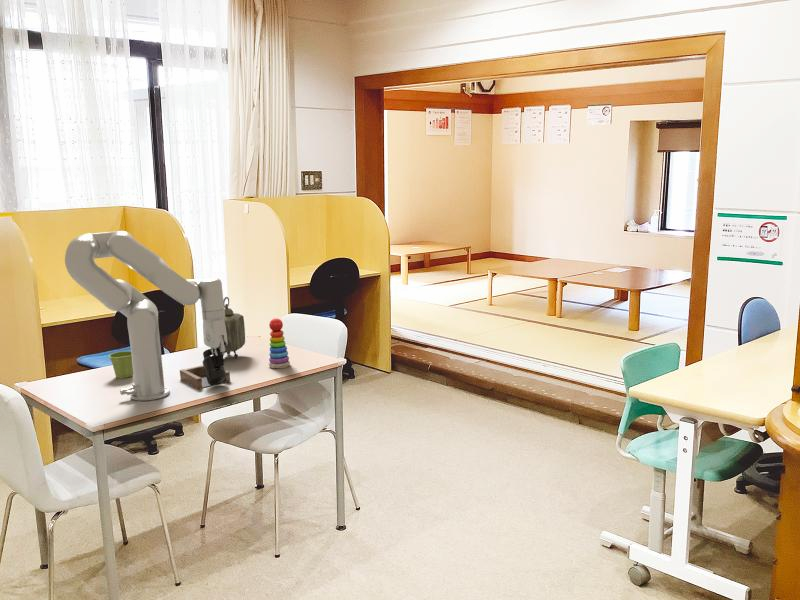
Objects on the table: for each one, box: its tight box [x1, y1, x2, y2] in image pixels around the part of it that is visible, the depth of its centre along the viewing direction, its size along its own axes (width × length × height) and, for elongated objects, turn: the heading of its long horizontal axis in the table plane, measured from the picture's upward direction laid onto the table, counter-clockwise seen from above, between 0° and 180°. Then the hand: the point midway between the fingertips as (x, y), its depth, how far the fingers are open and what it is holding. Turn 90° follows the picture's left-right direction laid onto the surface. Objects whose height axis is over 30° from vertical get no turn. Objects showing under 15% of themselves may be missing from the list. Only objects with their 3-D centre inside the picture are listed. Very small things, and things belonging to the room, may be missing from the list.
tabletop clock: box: [223, 296, 246, 359], centre depth 288 cm, size 14×9×25 cm, turn 177°
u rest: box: [179, 364, 231, 390], centre depth 260 cm, size 12×16×4 cm
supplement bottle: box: [202, 348, 227, 386], centre depth 254 cm, size 7×7×12 cm
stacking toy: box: [268, 318, 291, 369], centre depth 274 cm, size 8×8×19 cm
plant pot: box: [108, 350, 134, 379], centre depth 268 cm, size 9×9×9 cm
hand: (218, 365), depth 250 cm, fingers closed
